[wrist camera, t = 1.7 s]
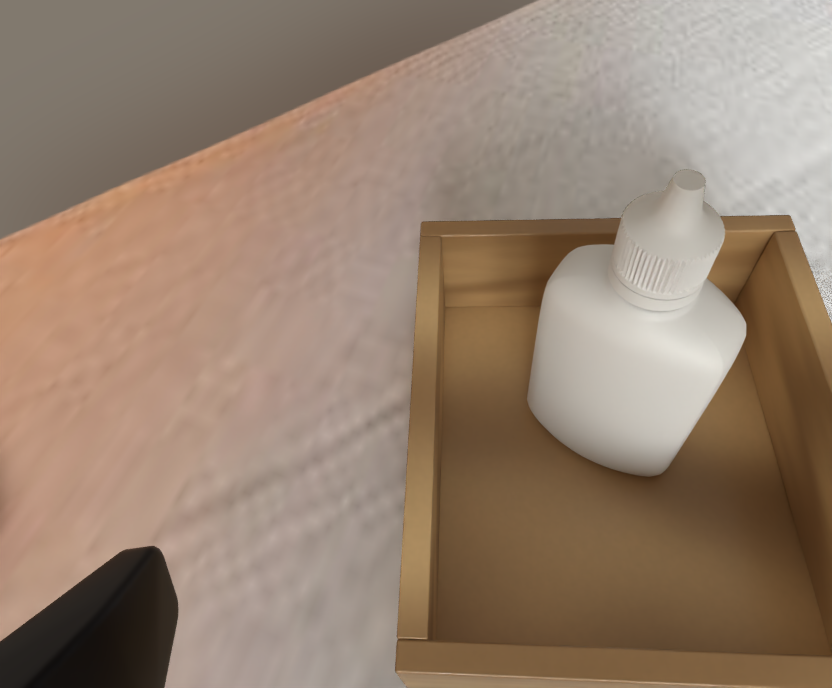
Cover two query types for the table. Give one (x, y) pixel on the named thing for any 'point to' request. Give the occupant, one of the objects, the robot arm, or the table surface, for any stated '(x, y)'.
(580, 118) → the table surface
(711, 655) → the crate
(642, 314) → the eye dropper bottle
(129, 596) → the robot arm
